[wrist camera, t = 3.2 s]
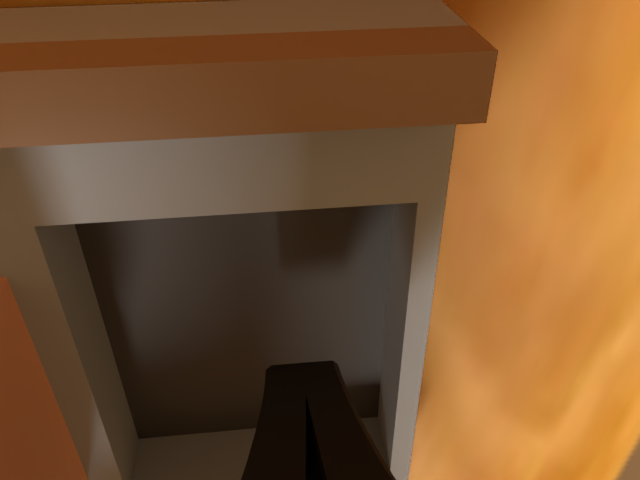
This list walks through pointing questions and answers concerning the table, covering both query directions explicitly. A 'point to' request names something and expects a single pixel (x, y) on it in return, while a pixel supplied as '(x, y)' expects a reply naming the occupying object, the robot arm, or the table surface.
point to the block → (29, 407)
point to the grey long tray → (228, 212)
